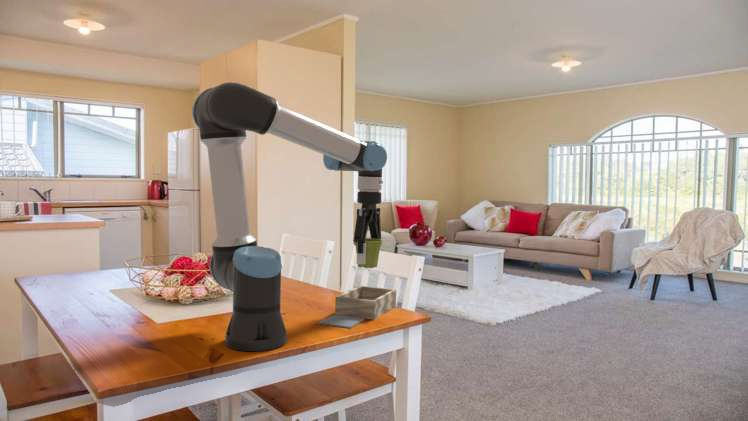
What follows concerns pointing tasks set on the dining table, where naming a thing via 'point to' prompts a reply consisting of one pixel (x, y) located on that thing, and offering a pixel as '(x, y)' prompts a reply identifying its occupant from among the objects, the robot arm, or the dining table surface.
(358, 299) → the frame
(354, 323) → the mat
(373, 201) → the robot arm
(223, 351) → the dining table surface
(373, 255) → the plant pot
